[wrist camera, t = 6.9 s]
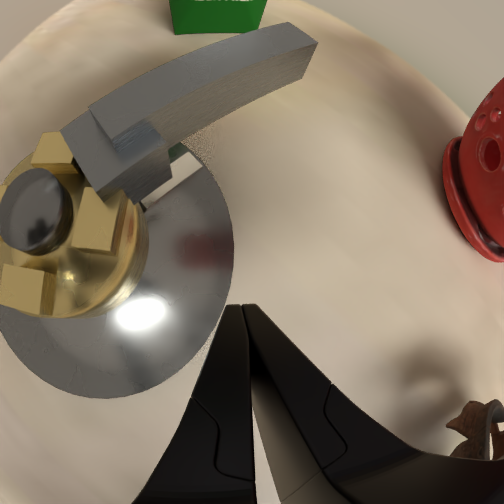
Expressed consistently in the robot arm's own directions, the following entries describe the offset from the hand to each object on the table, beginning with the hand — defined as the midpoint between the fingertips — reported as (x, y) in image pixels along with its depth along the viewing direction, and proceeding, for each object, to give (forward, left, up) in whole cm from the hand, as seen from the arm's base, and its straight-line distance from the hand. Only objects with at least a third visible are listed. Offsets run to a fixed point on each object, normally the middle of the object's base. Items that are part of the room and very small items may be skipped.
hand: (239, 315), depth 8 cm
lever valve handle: (+1, +7, -5) cm, 8 cm away
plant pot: (+22, -8, -6) cm, 24 cm away
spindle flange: (-3, +7, -6) cm, 10 cm away
